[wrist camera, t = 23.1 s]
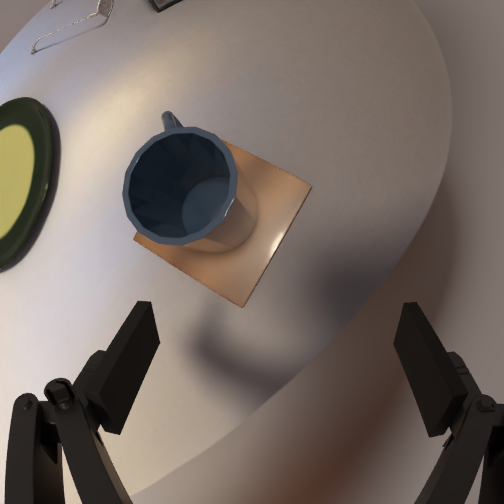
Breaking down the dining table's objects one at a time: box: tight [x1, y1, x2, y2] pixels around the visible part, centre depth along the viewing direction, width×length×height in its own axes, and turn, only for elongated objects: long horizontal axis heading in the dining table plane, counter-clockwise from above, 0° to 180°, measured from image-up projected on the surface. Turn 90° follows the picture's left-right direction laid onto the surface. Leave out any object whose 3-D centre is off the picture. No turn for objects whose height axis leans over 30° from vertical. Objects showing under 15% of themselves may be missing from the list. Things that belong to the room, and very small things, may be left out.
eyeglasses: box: [30, 0, 112, 54], centre depth 37 cm, size 15×18×4 cm
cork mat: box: [133, 139, 312, 308], centre depth 33 cm, size 14×14×1 cm
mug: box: [122, 111, 258, 254], centre depth 27 cm, size 11×8×12 cm
